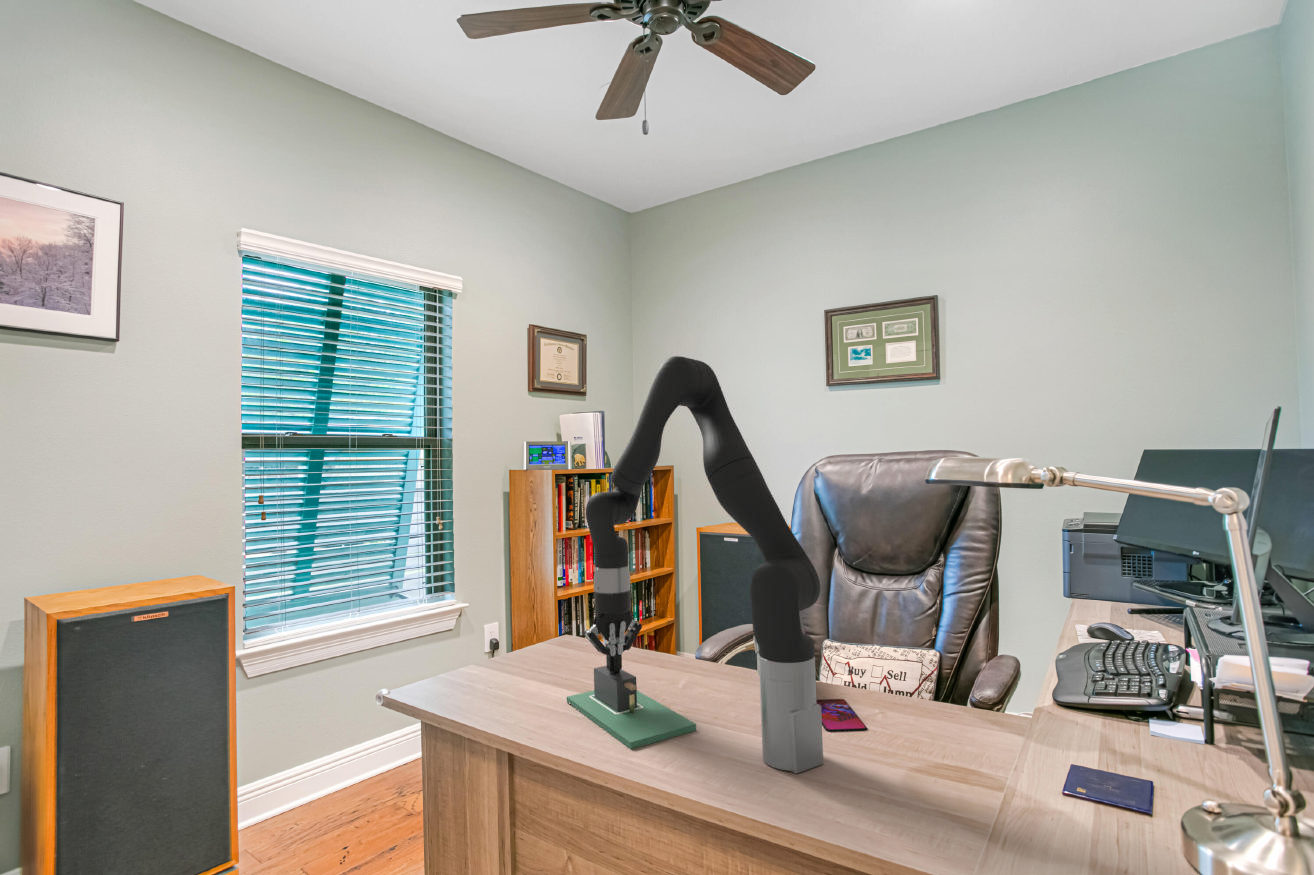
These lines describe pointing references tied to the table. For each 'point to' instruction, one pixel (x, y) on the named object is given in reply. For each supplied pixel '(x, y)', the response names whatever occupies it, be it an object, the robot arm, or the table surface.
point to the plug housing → (614, 688)
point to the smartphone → (839, 716)
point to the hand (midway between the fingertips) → (614, 672)
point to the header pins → (631, 703)
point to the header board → (633, 719)
